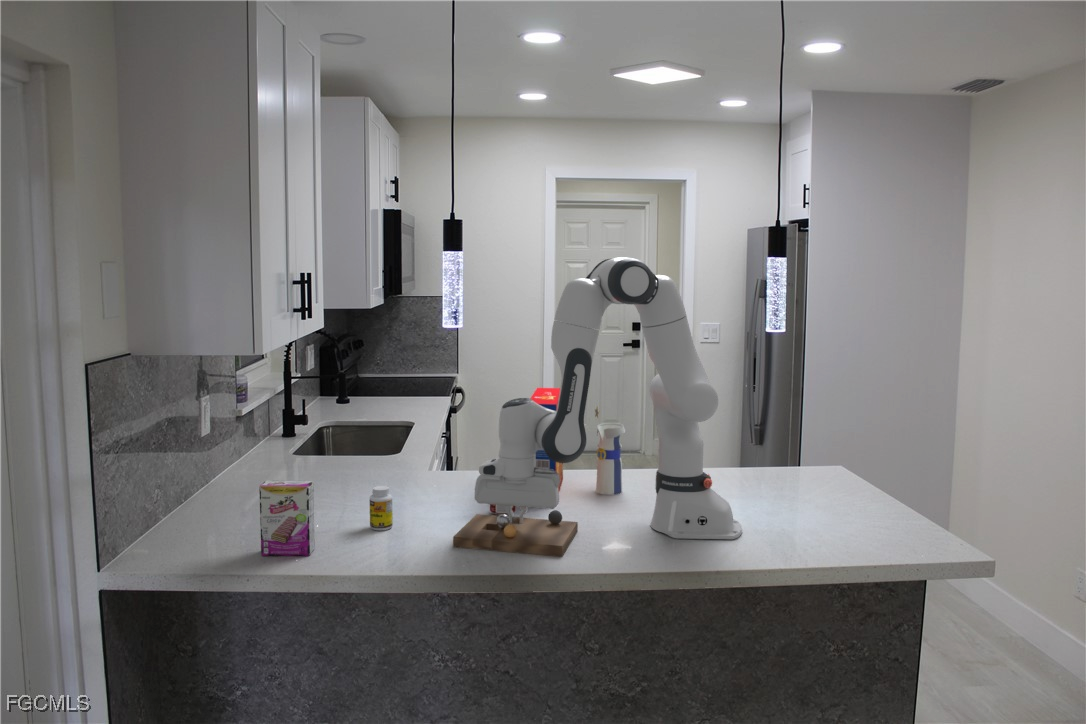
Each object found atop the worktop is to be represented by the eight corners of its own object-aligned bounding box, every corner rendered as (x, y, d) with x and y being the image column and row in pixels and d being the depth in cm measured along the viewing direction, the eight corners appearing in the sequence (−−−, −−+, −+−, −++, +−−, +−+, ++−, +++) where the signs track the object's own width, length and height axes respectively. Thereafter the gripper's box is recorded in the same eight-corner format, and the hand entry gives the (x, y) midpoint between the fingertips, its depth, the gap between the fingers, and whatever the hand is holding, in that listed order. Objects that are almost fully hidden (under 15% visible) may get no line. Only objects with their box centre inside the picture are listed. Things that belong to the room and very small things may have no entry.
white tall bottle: (609, 497, 241) (610, 409, 238) (588, 490, 248) (589, 405, 245) (630, 492, 246) (631, 406, 243) (609, 485, 253) (610, 402, 250)
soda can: (512, 518, 222) (512, 472, 220) (487, 516, 223) (486, 471, 221) (518, 510, 228) (518, 466, 227) (493, 508, 229) (493, 465, 228)
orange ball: (518, 535, 200) (518, 523, 199) (514, 540, 197) (514, 527, 196) (505, 534, 200) (505, 522, 200) (502, 539, 198) (502, 526, 197)
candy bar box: (260, 557, 192) (257, 485, 190) (266, 549, 197) (264, 480, 195) (310, 556, 192) (308, 485, 190) (315, 549, 197) (313, 479, 195)
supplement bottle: (365, 529, 212) (364, 488, 211) (380, 523, 217) (379, 483, 215) (382, 532, 209) (382, 492, 208) (397, 526, 214) (396, 486, 213)
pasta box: (555, 505, 233) (556, 404, 230) (526, 504, 234) (526, 403, 230) (562, 478, 261) (563, 388, 257) (536, 478, 261) (537, 387, 258)
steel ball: (498, 525, 207) (511, 527, 207) (494, 529, 204) (507, 531, 203) (499, 511, 207) (512, 513, 206) (495, 515, 204) (508, 517, 203)
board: (577, 531, 211) (577, 521, 210) (562, 556, 193) (562, 545, 193) (476, 523, 217) (476, 514, 216) (453, 547, 199) (453, 536, 199)
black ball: (563, 522, 210) (563, 509, 210) (560, 526, 207) (560, 513, 206) (549, 521, 211) (550, 508, 210) (546, 525, 207) (546, 512, 207)
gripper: (562, 466, 203) (561, 522, 205) (480, 460, 208) (480, 516, 210) (557, 472, 197) (556, 530, 199) (472, 467, 202) (472, 523, 204)
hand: (516, 523), depth 204 cm, fingers closed
